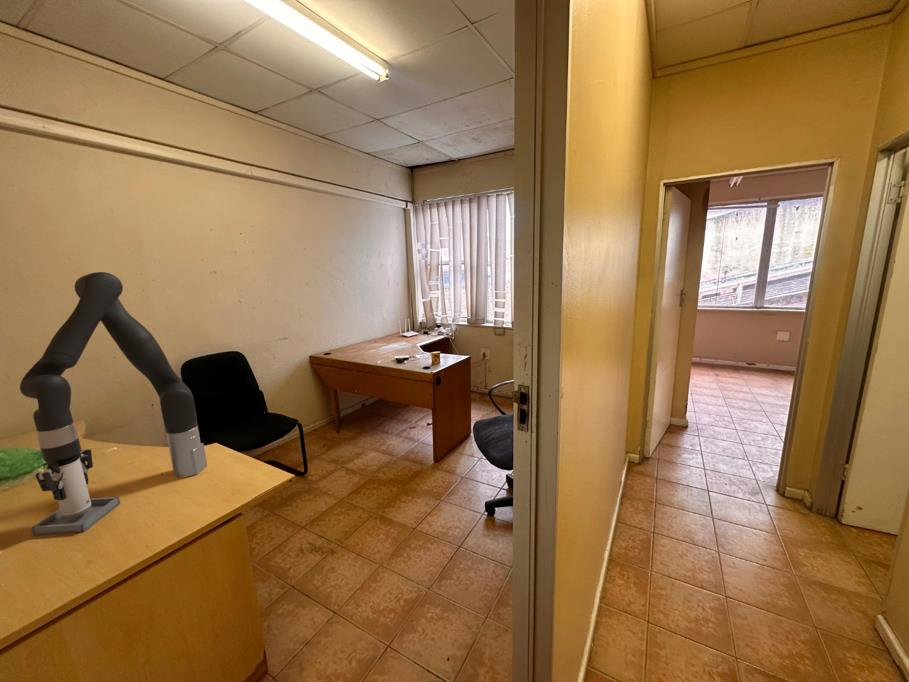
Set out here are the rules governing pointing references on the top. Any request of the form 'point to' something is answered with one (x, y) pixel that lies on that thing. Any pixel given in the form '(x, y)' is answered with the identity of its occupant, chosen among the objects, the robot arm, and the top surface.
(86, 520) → the tray
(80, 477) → the travel mug
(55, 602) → the top surface
